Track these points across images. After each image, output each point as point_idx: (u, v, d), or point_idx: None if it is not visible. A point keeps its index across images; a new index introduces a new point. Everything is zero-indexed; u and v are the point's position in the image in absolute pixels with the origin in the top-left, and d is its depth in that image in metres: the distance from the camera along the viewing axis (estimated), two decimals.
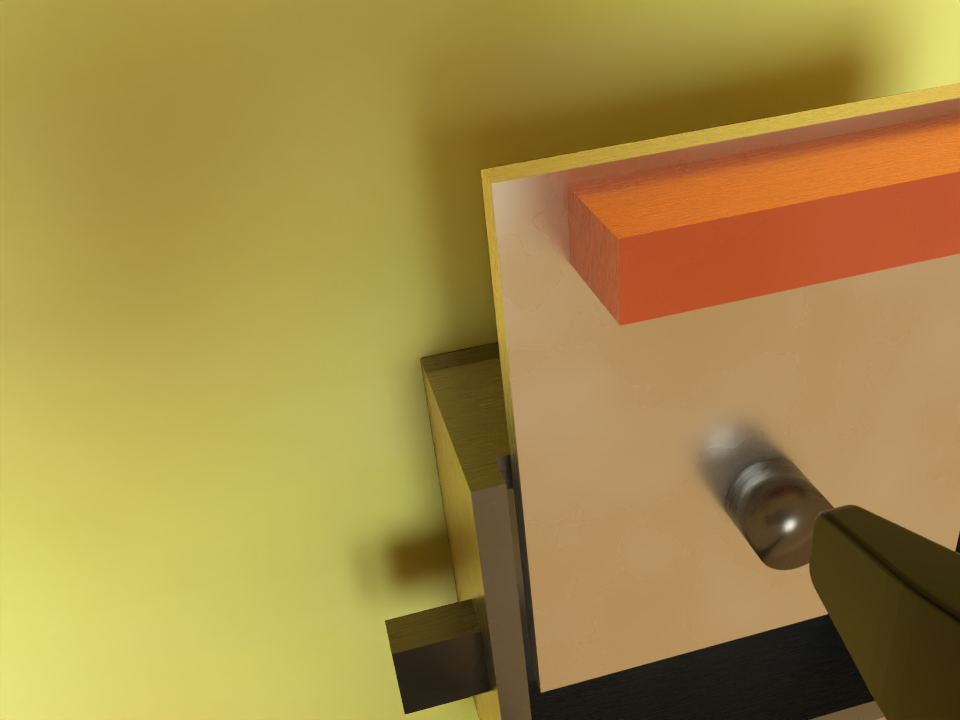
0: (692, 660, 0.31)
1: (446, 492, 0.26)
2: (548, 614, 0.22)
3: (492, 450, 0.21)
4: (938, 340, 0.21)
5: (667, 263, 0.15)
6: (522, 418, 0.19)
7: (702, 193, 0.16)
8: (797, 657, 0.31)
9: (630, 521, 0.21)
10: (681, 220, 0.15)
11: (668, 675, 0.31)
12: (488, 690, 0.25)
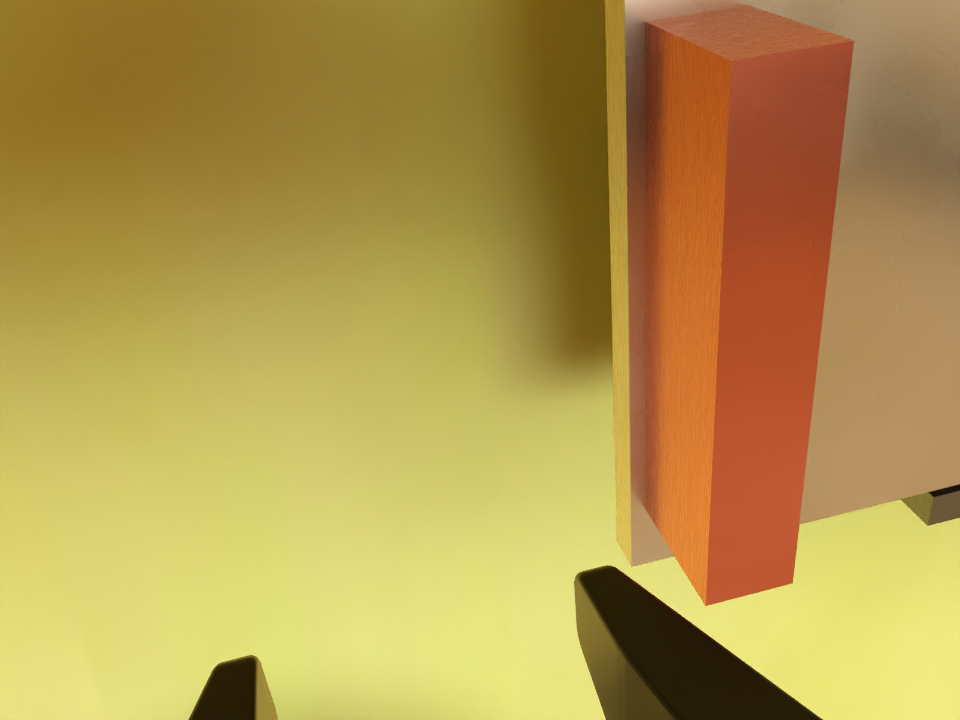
0: None
1: None
2: None
3: None
4: None
5: (742, 560, 0.15)
6: (867, 501, 0.19)
7: (679, 473, 0.15)
8: None
9: None
10: (702, 545, 0.15)
11: None
12: None
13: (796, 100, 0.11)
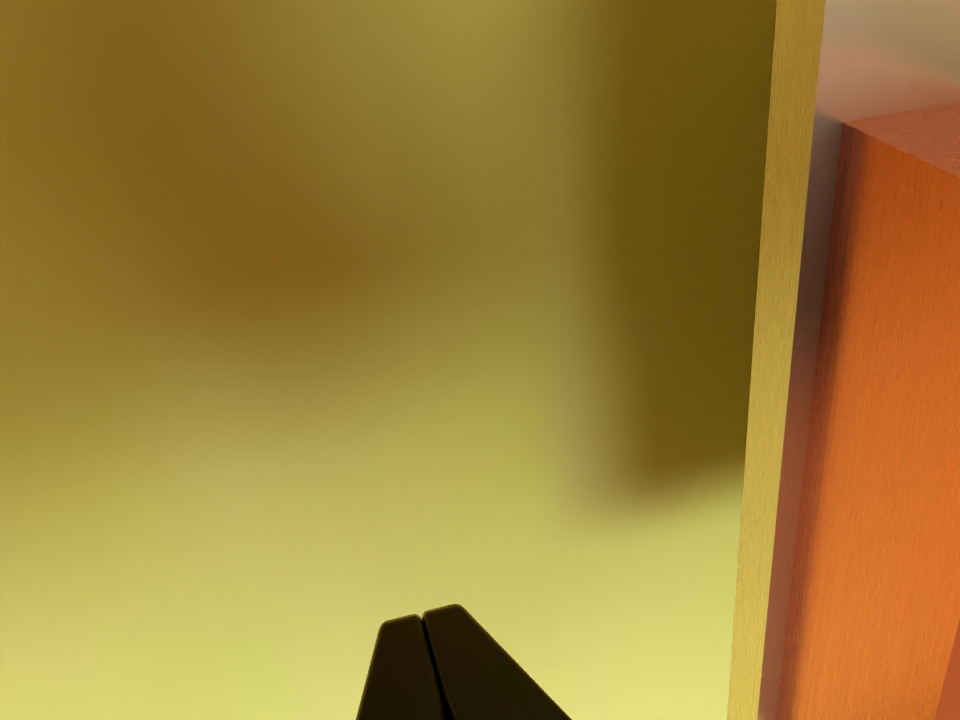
0: None
1: None
2: None
3: None
4: None
5: None
6: None
7: None
8: None
9: None
10: None
11: None
12: None
13: None
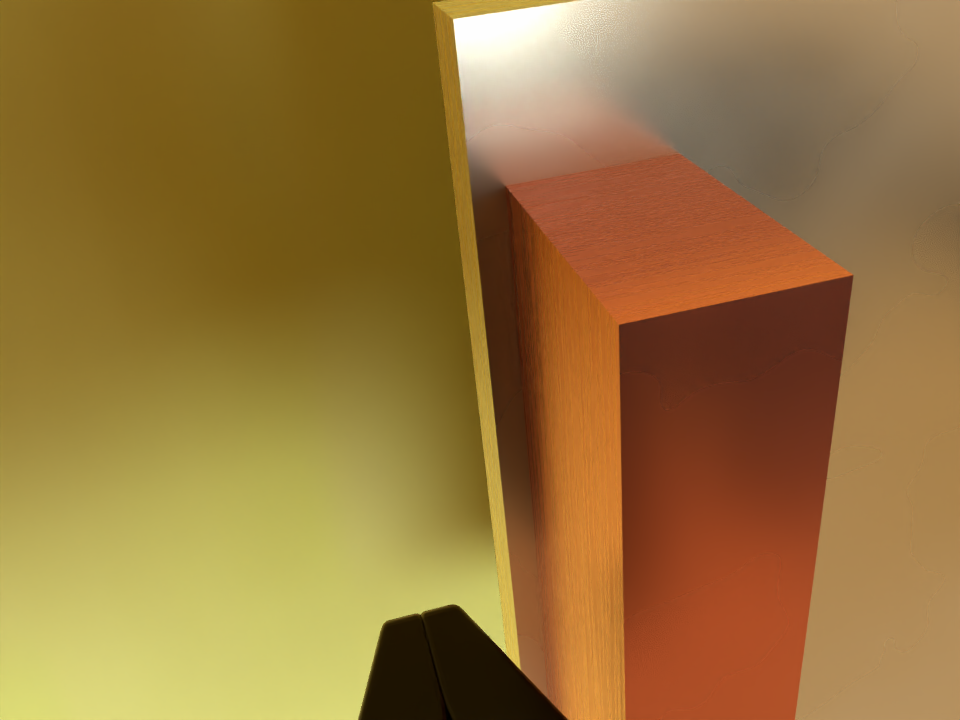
0: None
1: None
2: None
3: None
4: None
5: None
6: None
7: None
8: None
9: None
10: None
11: None
12: None
13: (747, 378, 0.06)
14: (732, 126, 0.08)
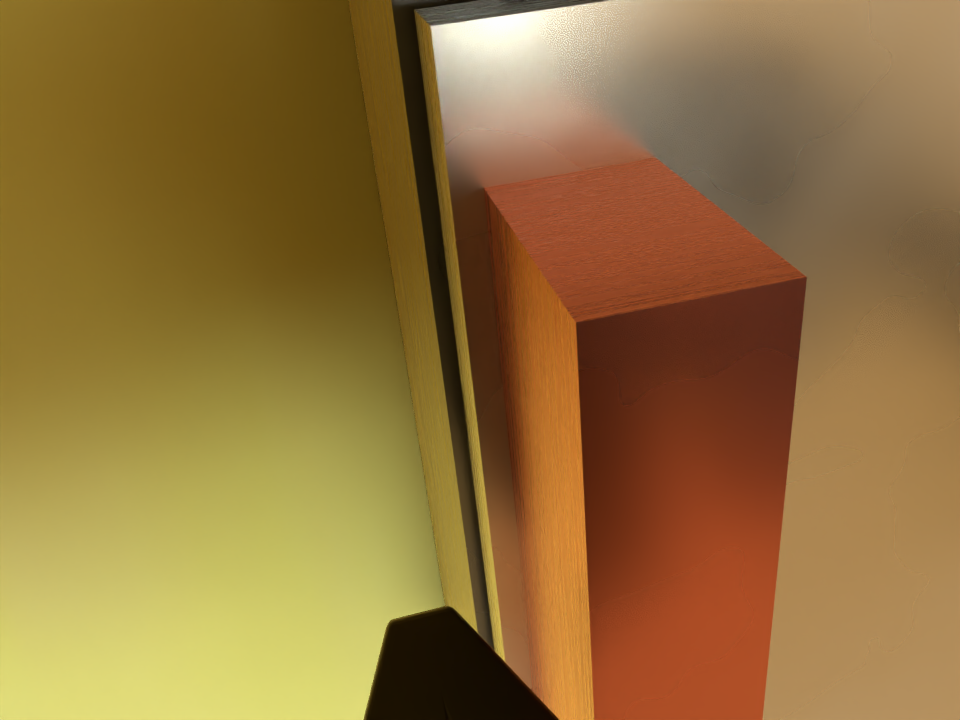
0: None
1: None
2: None
3: None
4: None
5: None
6: None
7: None
8: None
9: None
10: None
11: None
12: None
13: (704, 376, 0.06)
14: (707, 131, 0.08)
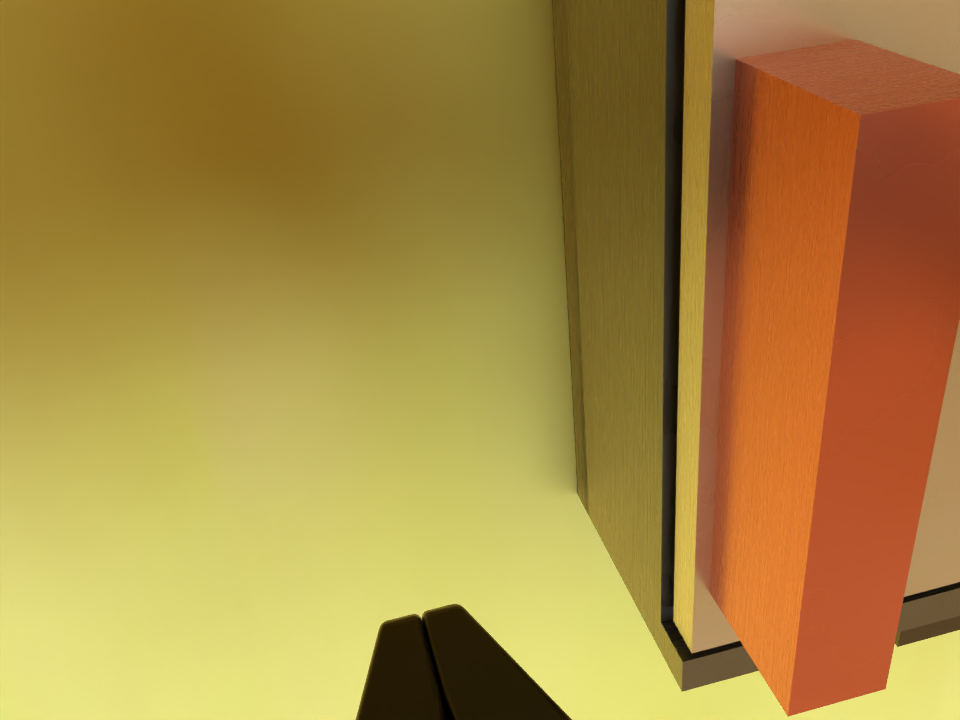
0: None
1: None
2: None
3: (655, 610, 0.18)
4: None
5: (831, 667, 0.13)
6: (951, 578, 0.17)
7: (758, 566, 0.14)
8: None
9: None
10: (787, 651, 0.13)
11: None
12: None
13: (932, 160, 0.09)
14: (892, 19, 0.11)
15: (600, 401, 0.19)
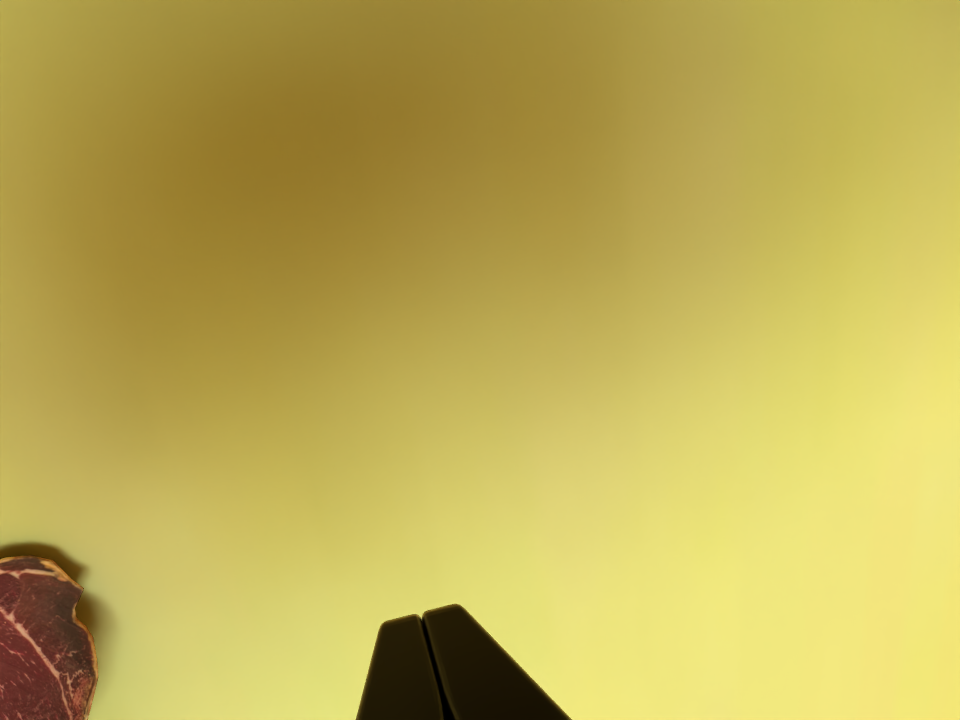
0: None
1: None
2: None
3: None
4: None
5: None
6: None
7: None
8: None
9: None
10: None
11: None
12: None
13: None
14: None
15: None
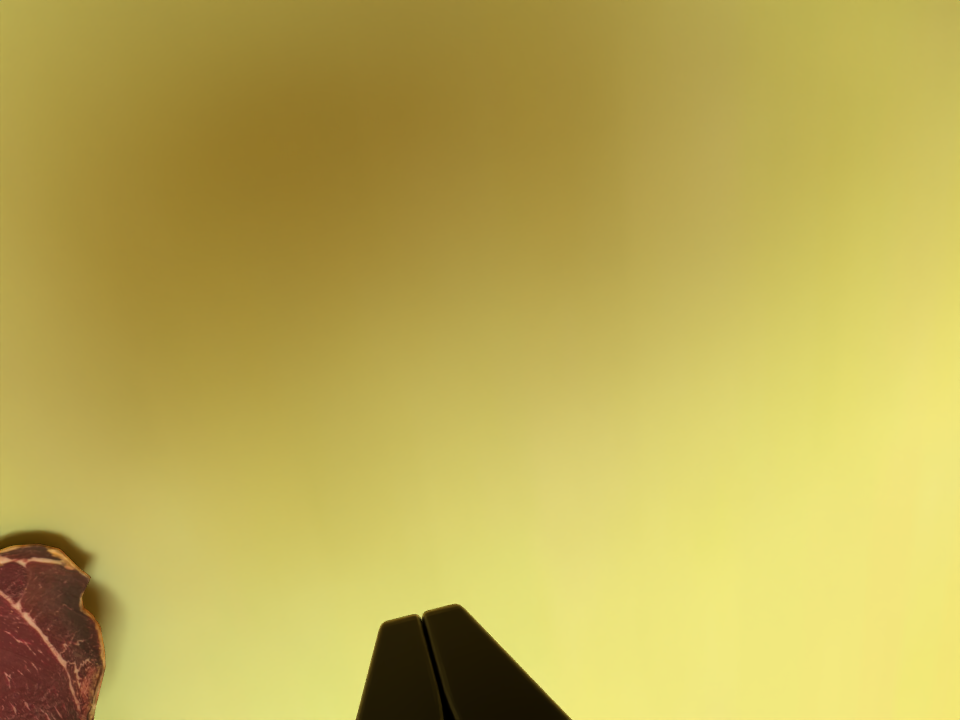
0: None
1: None
2: None
3: None
4: None
5: None
6: None
7: None
8: None
9: None
10: None
11: None
12: None
13: None
14: None
15: None
